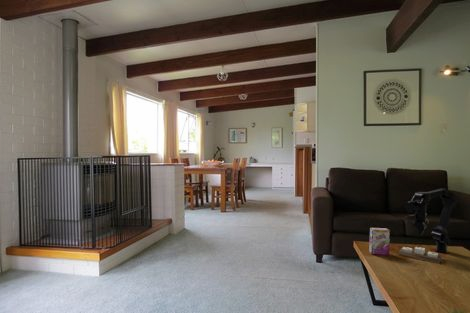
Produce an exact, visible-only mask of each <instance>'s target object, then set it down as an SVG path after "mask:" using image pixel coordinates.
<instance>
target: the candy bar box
mask: <svg viewBox="0 0 470 313" xmlns="http://www.w3.org/2000/svg"><path fill="white" fill-rule="evenodd" d="M390 234H391V229H388V228H387V227H386V228H385V227H384V228H382V227H381V228H380V227H370V228H369V246H368V247H369V249H368V252H369V253H370V254H371V255H379V256H381V255H382V256H390V241H391V239H390V238H391V235H390Z"/></svg>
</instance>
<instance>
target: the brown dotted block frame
mask: <svg viewBox="0 0 470 313" xmlns="http://www.w3.org/2000/svg"><path fill="white" fill-rule="evenodd" d="M402 248H403V247H401V248H400V250H399V251H398V256H400V257H401V256H402V257H406V258H411V259H416V260H421V261H425V262H430V263H431V262H432V263H435V264H440V263H441V261H442V257H443V255H442V254H438V258H434V257H429V256H427V253H428V251H425V254H424V255H421V254H416V253H414V250H415V249H412V253H409V252H404V251H402Z"/></svg>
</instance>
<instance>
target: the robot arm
mask: <svg viewBox="0 0 470 313" xmlns="http://www.w3.org/2000/svg"><path fill="white" fill-rule="evenodd" d="M438 197H440V198H441V199H442V201H441V202H442V205H443V208H442V211H441V213H440V217H439V221H438V224H437V226H436V227H433V228H432V231H431V237H432V240H433V242H436V248H435V250H434V252H436V253H438V252H439V253H443V254H447V253H448V251H449V250H448V249H447V248H448V246H447V245H451V242H452V239H450V238H449V236H448V235H449V233H448V229H447V228H448V225H449V221H450V218H451V214H452V212H453V209H454V208H455V207H456V206H457V205H458V202H459V200H460V198H459V197H458V196H457V195H456V194H454V193H453V192H451V191H449V189H447V188H440V187H439V188H438V189H433V190H430V191H416V192H415V193H414V195H413V197H412V199H411V200H410V201H407V203H406V204H405V206H404V208H405V211H406V212H407V213H414V214H408V215H406V216H405V220H406V221H407V222H410V221H413V222H412V226H413V227H416V228H417V231H418V235H419V236H423V233H424V231H425V229H426V228H427V224H429V219H428V218H427V215H428V213H427V206H428V205H429V202H428V201H431V199H433V198H434V199H435V198H438Z"/></svg>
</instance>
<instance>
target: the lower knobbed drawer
mask: <svg viewBox="0 0 470 313" xmlns="http://www.w3.org/2000/svg"><path fill="white" fill-rule="evenodd" d="M438 255H439V253H438V252H435V251H434V252H433V251H427V256H429V257H434V258H438Z"/></svg>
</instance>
